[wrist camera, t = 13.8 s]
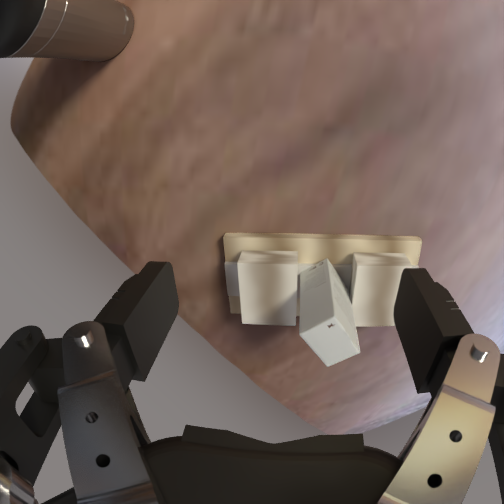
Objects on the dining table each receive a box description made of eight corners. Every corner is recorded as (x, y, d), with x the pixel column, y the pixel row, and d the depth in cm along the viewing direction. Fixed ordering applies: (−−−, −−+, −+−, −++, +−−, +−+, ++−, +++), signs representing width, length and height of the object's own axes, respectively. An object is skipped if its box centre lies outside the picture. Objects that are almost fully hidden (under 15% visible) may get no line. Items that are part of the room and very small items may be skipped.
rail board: (232, 307, 47) (224, 331, 42) (225, 232, 42) (215, 251, 37) (403, 309, 43) (412, 333, 38) (418, 236, 38) (433, 255, 33)
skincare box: (298, 272, 40) (296, 333, 30) (327, 256, 39) (335, 314, 28) (322, 305, 42) (326, 368, 31) (349, 290, 41) (362, 352, 30)
